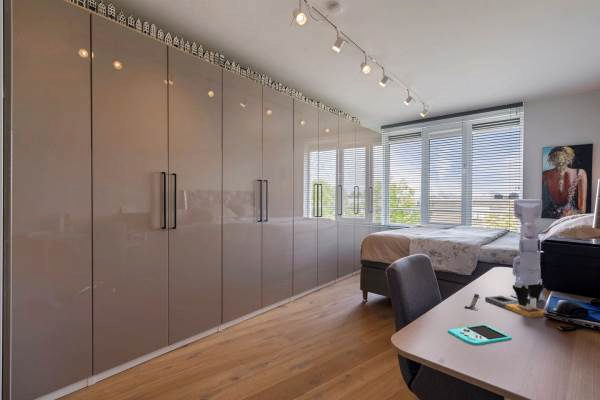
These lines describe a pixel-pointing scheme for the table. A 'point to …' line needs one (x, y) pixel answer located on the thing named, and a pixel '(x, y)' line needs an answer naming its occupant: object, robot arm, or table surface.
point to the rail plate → (513, 306)
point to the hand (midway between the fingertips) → (528, 303)
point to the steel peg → (529, 304)
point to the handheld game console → (479, 334)
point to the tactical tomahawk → (473, 302)
